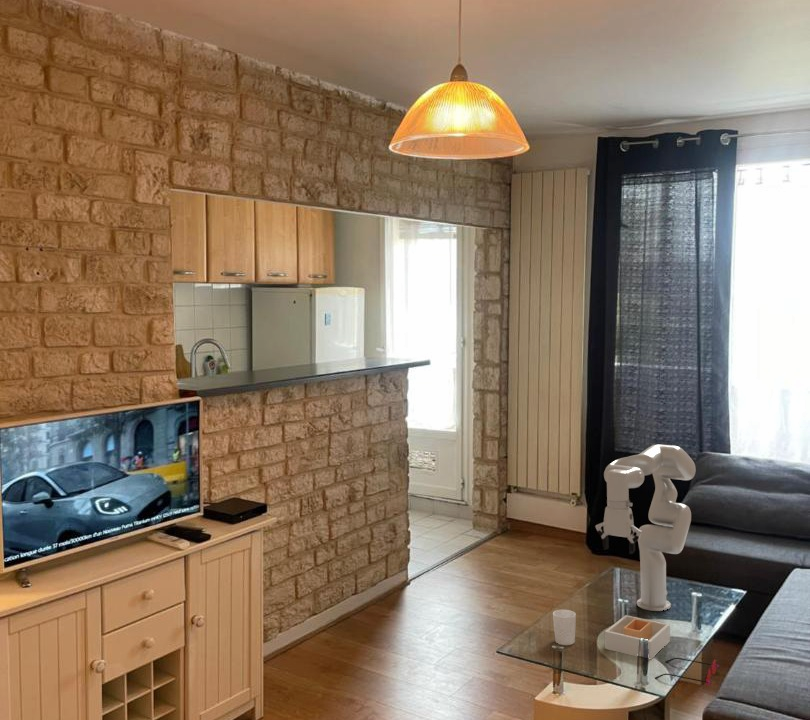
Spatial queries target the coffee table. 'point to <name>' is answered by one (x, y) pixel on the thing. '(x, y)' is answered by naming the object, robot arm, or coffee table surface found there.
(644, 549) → the robot arm
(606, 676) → the coffee table surface
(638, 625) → the orange crate
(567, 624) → the white cup
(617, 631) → the box
